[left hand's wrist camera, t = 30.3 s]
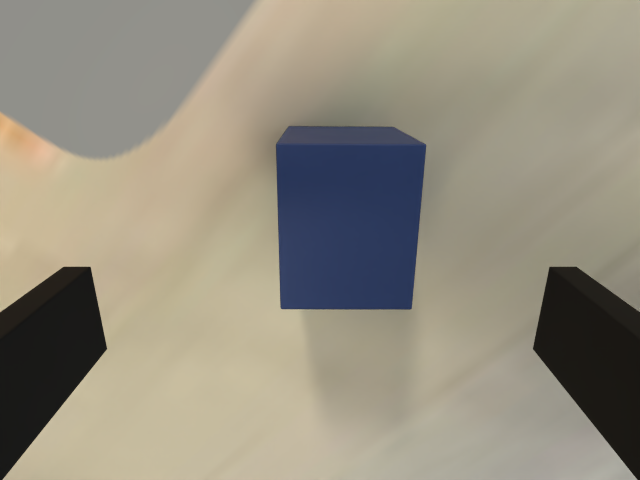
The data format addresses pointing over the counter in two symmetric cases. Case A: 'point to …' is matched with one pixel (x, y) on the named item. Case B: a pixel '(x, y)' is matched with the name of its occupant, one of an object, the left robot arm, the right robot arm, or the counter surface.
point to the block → (348, 216)
